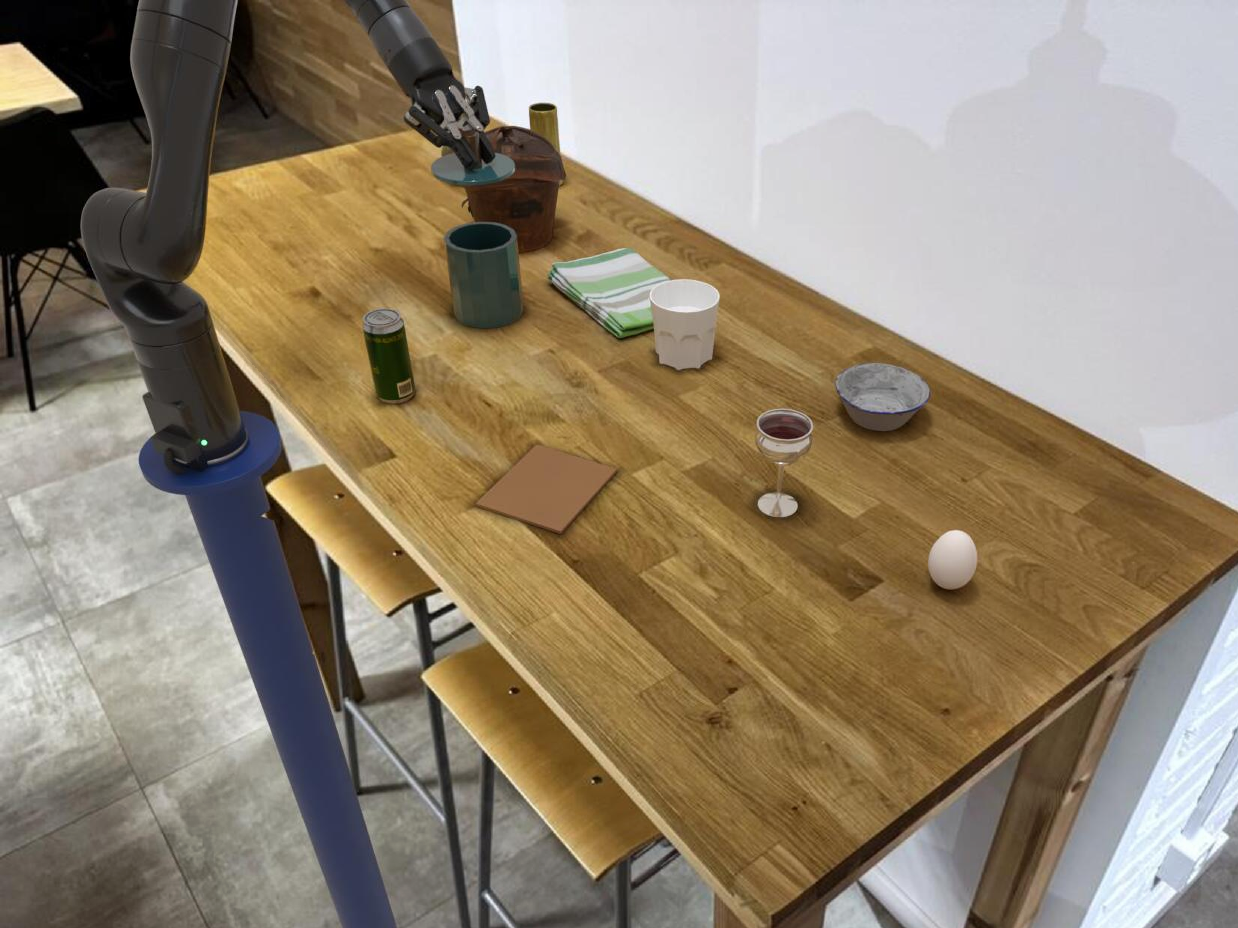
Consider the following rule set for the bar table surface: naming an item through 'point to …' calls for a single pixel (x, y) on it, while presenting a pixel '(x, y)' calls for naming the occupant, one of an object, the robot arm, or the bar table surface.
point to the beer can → (388, 355)
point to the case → (521, 187)
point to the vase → (545, 123)
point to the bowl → (881, 395)
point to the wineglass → (782, 452)
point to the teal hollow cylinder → (484, 274)
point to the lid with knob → (456, 173)
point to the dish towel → (611, 289)
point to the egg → (952, 560)
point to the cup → (684, 322)
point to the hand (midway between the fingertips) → (482, 163)
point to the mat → (547, 488)
